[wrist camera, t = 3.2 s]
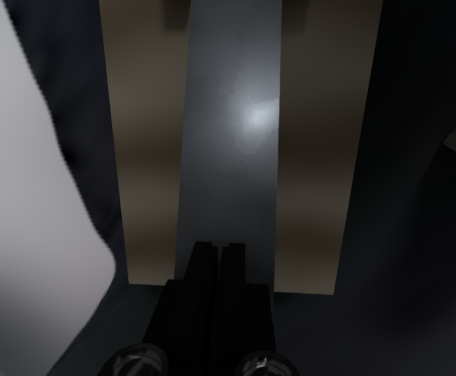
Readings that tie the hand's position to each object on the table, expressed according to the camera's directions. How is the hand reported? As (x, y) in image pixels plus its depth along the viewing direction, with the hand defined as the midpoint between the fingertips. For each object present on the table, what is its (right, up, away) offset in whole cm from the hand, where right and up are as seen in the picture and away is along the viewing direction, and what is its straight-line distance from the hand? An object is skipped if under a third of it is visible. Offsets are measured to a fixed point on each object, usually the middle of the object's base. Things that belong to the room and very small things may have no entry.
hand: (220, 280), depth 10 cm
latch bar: (0, +5, +3) cm, 6 cm away
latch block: (+1, +8, +12) cm, 15 cm away
